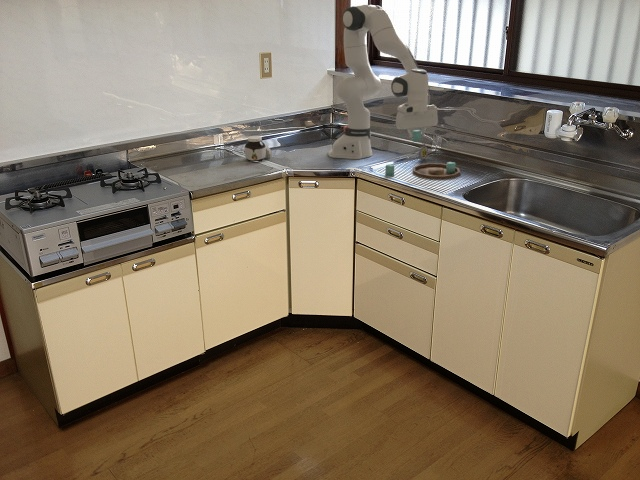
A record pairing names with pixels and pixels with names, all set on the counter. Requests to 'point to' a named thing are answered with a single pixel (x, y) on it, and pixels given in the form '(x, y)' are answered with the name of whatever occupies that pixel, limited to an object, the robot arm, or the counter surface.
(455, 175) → the ring tray
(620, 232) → the counter surface
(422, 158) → the pocket watch
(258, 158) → the spread jar
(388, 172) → the bead
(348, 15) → the robot arm
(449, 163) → the bead
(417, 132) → the bead
